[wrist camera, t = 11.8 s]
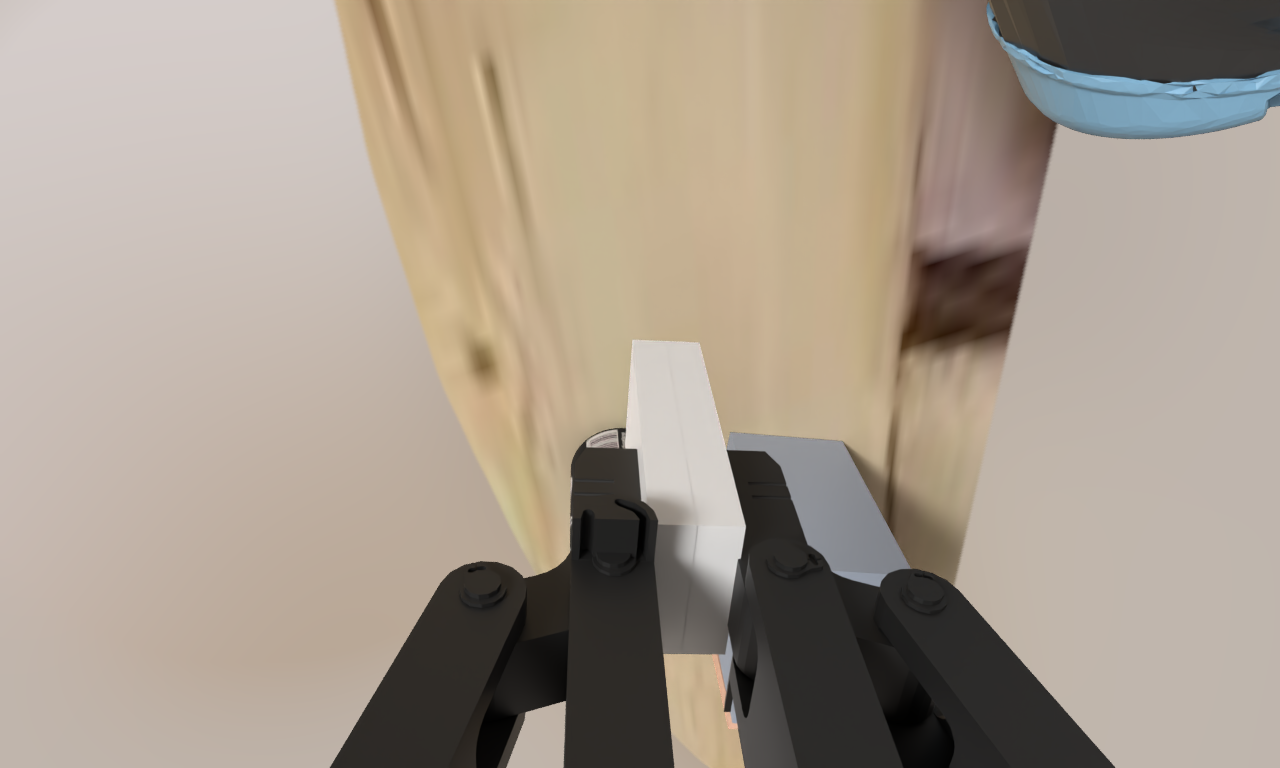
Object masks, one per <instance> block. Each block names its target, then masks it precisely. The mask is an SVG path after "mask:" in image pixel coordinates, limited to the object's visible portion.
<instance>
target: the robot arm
mask: <svg viewBox="0 0 1280 768" xmlns="http://www.w3.org/2000/svg"><path fill="white" fill-rule="evenodd" d="M987 16H988V21H989V25H990V28H991V30H992V33H993V35H994V36H995V38H996V39H997V40H998V41H999V42H1000V44H1001V46H1002V47H1003V49H1004V50H1005V51H1007V53H1008V55H1009V58H1010V60H1011V62H1012V65H1013V67H1014V69H1015V72H1016V74H1017V77H1018V79H1019V81H1020V84H1021V86H1022V88H1023V90H1024V92H1025V94H1026V96H1027V97H1028V98H1029V100H1030V101H1031V102H1032V103H1033V104H1034V105H1035V106H1036V107H1037V108H1038V109H1039V110H1040V111H1041V112H1042V113H1043V114H1044V115H1045V116H1047V117H1049V118H1050V119H1051V120H1052V121H1054V122H1056V123H1058V124H1060V125H1063V126H1065V127H1067V128H1070V129H1072V130H1075V131H1079V132H1082V133H1086V134H1091V135H1096V136H1101V137H1109V138H1122V139H1158V138H1173V137H1181V136H1190V135H1196V134H1204V133H1209V132H1215V131H1220V130H1224V129H1228V128H1232V127H1237V126H1240V125H1244V124H1248V123H1252V122H1255V121H1259V120H1261V119H1262V118H1263V117H1264V116H1265V115H1266V112H1267V109H1268V108H1270V107H1275V106H1280V0H988V5H987ZM728 634H729V636H730V642H731V647H732V652H733V655H732V661H731V667H730V673H729V678H728V684H727V690H726V696H725V704H724V712H731V706H732V701H733V703H734V709H735V714H736V720H737V726H738V731H739V737H740V743H741V748H742V754H743V760H744V765H745V768H1115V767H1114V766H1113V764H1112V763H1111V762H1110V761H1109V760H1108V759H1107V758H1106V756H1105V755H1104V754H1103V753H1102V752H1101V751H1100V750H1099V749H1098V747H1097V746H1096V745H1095V744H1094V743H1093V742H1092V741H1091V740H1090V738H1089V737H1088V736H1087V735H1086V734H1085V733H1084V732H1083V731H1082V729H1081V728H1080V727H1079V726H1078V725H1077V724H1076V723H1075V721H1074V720H1073V719H1072V718H1071V717H1070V716H1069V715H1068V713H1066V711H1065V710H1064V709H1063V708H1062V707H1061V706H1060V704H1059V703H1058V702H1057V701H1056V700H1055V699H1054V698H1053V696H1052V695H1051V694H1050V693H1049V692H1048V691H1047V690H1046V689H1045V688H1044V686H1043V685H1042V684H1041V683H1040V682H1039V681H1038V680H1037V678H1036V677H1035V676H1034V675H1033V674H1032V673H1031V672H1030V670H1029V669H1028V668H1027V667H1026V666H1025V665H1024V664H1023V663H1022V661H1021V660H1020V659H1019V658H1018V657H1017V656H1016V655H1015V654H1014V653H1013V651H1012V650H1011V649H1010V648H1009V647H1008V646H1007V645H1006V643H1005V642H1004V641H1003V640H1002V639H1001V638H1000V637H999V635H998V634H997V633H996V632H995V631H994V630H993V629H992V627H991V626H990V625H989V624H988V623H987V622H986V621H985V620H984V618H983V617H982V616H981V615H980V614H979V613H978V612H977V610H976V609H975V608H974V607H973V606H972V605H971V604H970V603H969V601H968V600H967V599H966V598H965V597H964V596H963V595H962V593H961V592H960V591H959V590H958V589H956V588H955V587H954V586H953V585H952V584H951V583H949V582H948V581H947V580H945V579H943V578H941V577H939V576H937V575H935V574H933V573H930V572H926V571H922V570H918V569H899V570H896V571H893V572H890V573H888V574H887V575H886V576H885V577H884V579H883V580H882V581H881V584H880V587H878V586H874V585H870V584H866V583H862V582H858V581H854V580H851V579H848V578H845V577H842V576H839V575H838V574H836V573H834V572H832V571H831V568H830V566H829V564H828V562H827V561H826V559H825V558H824V556H823V555H822V554H821V553H819V552H818V551H817V550H815V549H814V548H813V547H811V546H809V545H808V544H807V541H806V538H805V535H804V532H803V529H802V527H801V524H800V521H799V518H798V515H797V512H796V509H795V506H794V504H793V501H792V500H791V495H790V492H789V489H788V486H786V480H785V478H784V475H783V472H782V469H781V466H780V465H779V464H778V463H777V462H776V461H775V460H774V459H773V458H772V457H770V456H769V455H768V454H767V453H766V452H765V451H742V450H726V446H725V442H724V438H723V434H722V430H721V426H720V422H719V419H718V415H717V411H716V407H715V403H714V399H713V395H712V391H711V387H710V383H709V379H708V375H707V371H706V367H705V363H704V359H703V355H702V352H701V348H700V344H699V343H698V342H674V341H651V340H632V354H631V368H630V382H629V396H628V409H627V423H626V437H625V448H596V447H586V448H585V450H584V451H583V452H582V453H581V455H580V456H579V457H578V459H577V460H576V461H575V478H574V504H573V530H572V546H571V550H570V553H569V555H568V556H567V558H566V559H565V560H564V561H563V562H562V563H561V564H560V565H559V566H558V567H556V568H554V569H552V570H550V571H548V572H546V573H543V574H539V575H536V576H532V577H528V578H523V576H522V575H521V574H520V573H518V572H517V571H516V570H515V569H514V568H512V567H510V566H507V565H504V564H501V563H498V562H483V561H480V562H476V563H471V564H466V565H463V566H461V567H459V568H458V569H456V570H454V571H452V572H450V573H449V574H448V575H447V576H446V578H445V579H444V580H443V581H442V582H441V583H440V585H439V586H438V588H437V590H436V591H435V593H434V595H433V596H432V598H431V600H430V602H429V603H428V605H427V607H426V608H425V610H424V612H423V613H422V615H421V617H420V618H419V620H418V622H417V623H416V625H415V627H414V629H413V630H412V632H411V633H410V635H409V637H408V638H407V640H406V642H405V643H404V645H403V647H402V648H401V650H400V652H399V653H398V655H397V657H396V658H395V660H394V662H393V663H392V665H391V667H390V668H389V670H388V672H387V673H386V675H385V677H384V678H383V680H382V682H381V683H380V685H379V687H378V688H377V690H376V692H375V694H374V695H373V697H372V698H371V700H370V702H369V703H368V705H367V707H366V708H365V710H364V712H363V713H362V715H361V717H360V718H359V720H358V722H357V723H356V725H355V727H354V728H353V730H352V732H351V733H350V735H349V737H348V739H347V740H346V742H345V744H344V745H343V747H342V748H341V750H340V752H339V753H338V755H337V757H336V758H335V760H334V762H333V763H332V765H331V767H330V768H506V767H507V764H508V761H509V759H510V756H511V754H512V751H513V748H514V745H515V743H516V741H517V738H518V735H519V733H520V730H521V728H522V725H523V722H524V719H525V712H527V711H531V710H535V709H538V708H542V707H545V706H549V705H552V704H556V703H560V702H563V701H566V716H565V745H564V768H674V760H673V750H672V739H671V729H670V719H669V708H668V698H667V688H666V678H665V668H664V657H663V654H721V655H725V652H726V646H727V640H728Z"/></svg>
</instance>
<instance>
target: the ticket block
mask: <svg viewBox="0 0 1280 768" xmlns="http://www.w3.org/2000/svg"><path fill="white" fill-rule="evenodd" d="M727 450H742V451H765V452H766V453H767V454H768V455H769V456H770V457H772V458H773V459H774V460H775V461H776V462H777V463H778V464H779V465H780V466H781V469H782V472H783V475H784V478H785V480H786V486H788V489H789V492H790V495H791V500H792V501H793V504H794V506H795V509H796V512H797V515H798V518H799V521H800V524H801V527H802V529H803V532H804V535H805V538H806V541H807V544H808V545H809V546H811V547H813V548H814V549H815V550H817V551H818V552H819V553H821V554H822V555H823V556H824V558H825V559H826V561H827V562H828V564H829V566H830V568H831V571H832V572H834V573H836V574H838V575H839V576H842V577H845V578H848V579H851V580H854V581H858V582H862V583H866V584H870V585H874V586H878V587H880V584H881V581H882V580H883V579H884V577H885V576H886V575H887V574H888V573H890V572H893V571H896V570H899V569H911V568H910V566H909V564H908V562H907V560H906V559H905V557H904V555H903V553H902V551H901V549H900V547H899V546H898V544H897V542H896V540H895V538H894V536H893V534H892V533H891V531H890V529H889V527H888V525H887V523H886V521H885V519H884V518H883V516H882V514H881V512H880V510H879V508H878V506H877V505H876V503H875V501H874V499H873V497H872V495H871V493H870V492H869V490H868V488H867V486H866V484H865V482H864V480H863V478H862V477H861V475H860V473H859V471H858V469H857V467H856V465H855V464H854V462H853V460H852V458H851V456H850V454H849V452H848V451H847V449H846V447H845V445H844V443H843V441H833V440H821V439H808V438H795V437H783V436H770V435H758V434H745V433H733V432H730V436H729V441H728V446H727ZM732 655H733V652H732V647H731V642H730V636H729V634H728V640H727V646H726V652H725V655H721V654H719V659H720V664H721V669H722V674H723V679H724V684H725V689H726V690H727V684H728V678H729V673H730V667H731V661H732ZM730 714H731V719H732V723H737V720H736V714H735V709H734V703H733V701H732V706H731V712H730Z"/></svg>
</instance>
